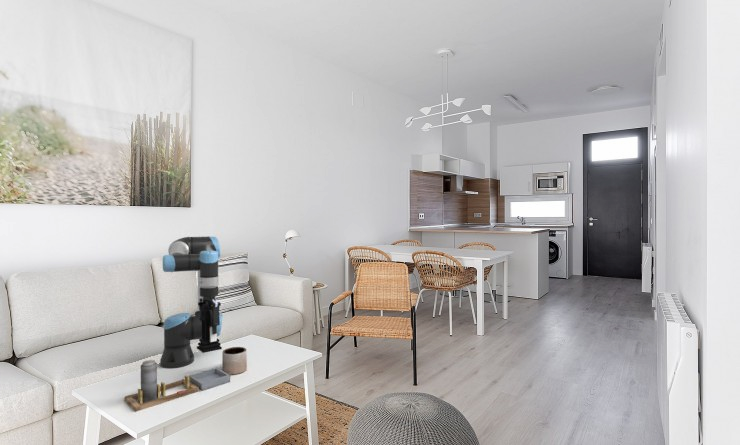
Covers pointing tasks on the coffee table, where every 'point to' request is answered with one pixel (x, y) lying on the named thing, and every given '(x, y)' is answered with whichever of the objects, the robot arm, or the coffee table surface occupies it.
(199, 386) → the tray
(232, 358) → the planter
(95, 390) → the coffee table surface
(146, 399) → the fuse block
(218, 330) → the robot arm
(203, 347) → the chess piece
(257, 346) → the coffee table surface
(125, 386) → the coffee table surface
